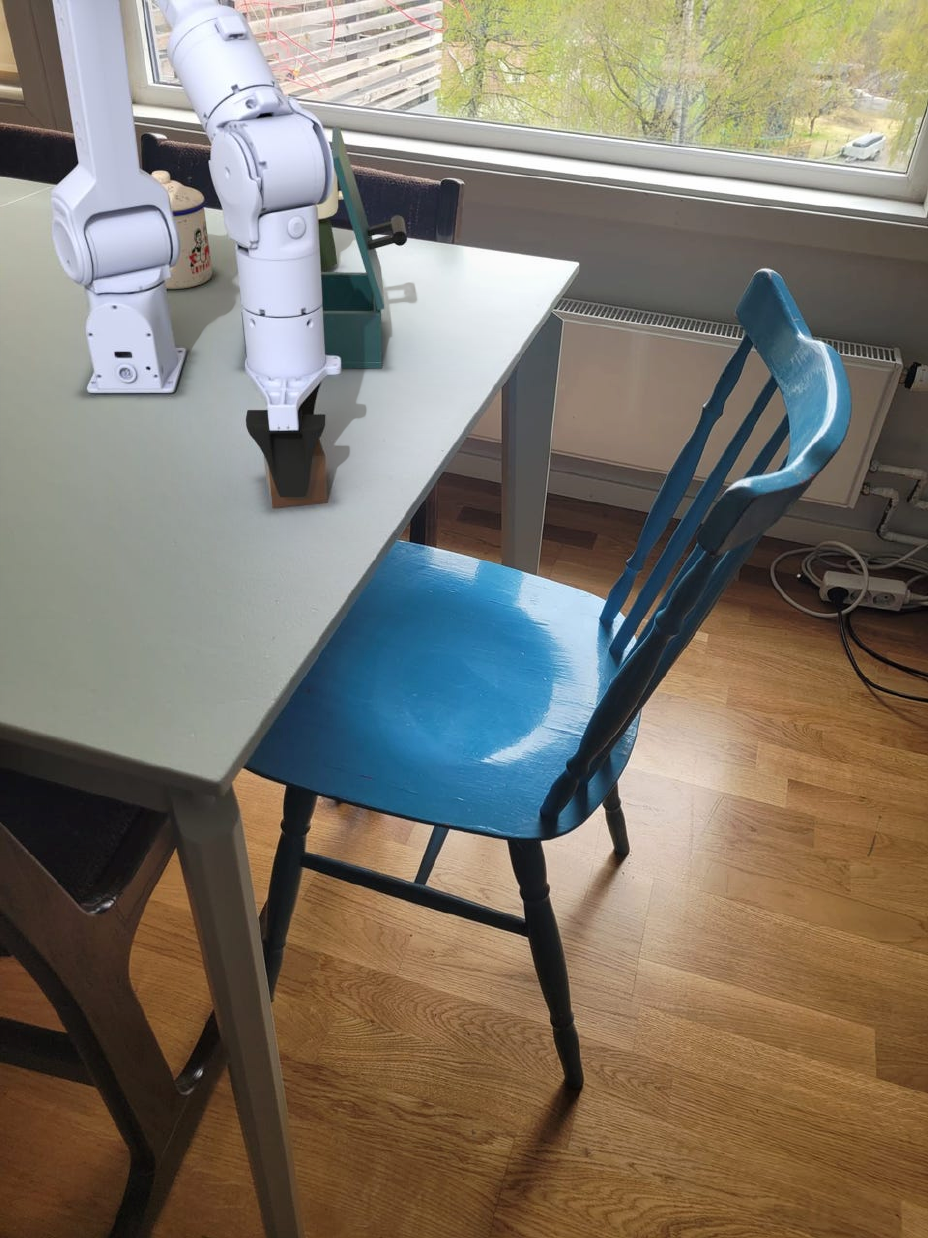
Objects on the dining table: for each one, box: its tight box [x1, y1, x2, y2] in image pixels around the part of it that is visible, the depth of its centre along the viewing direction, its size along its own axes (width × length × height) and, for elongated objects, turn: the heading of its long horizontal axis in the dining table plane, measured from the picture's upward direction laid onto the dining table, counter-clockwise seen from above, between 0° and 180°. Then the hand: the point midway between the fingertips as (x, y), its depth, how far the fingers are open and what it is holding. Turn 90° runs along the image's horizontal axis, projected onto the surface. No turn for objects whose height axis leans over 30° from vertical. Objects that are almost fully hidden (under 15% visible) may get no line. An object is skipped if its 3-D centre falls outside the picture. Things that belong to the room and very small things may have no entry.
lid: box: [331, 125, 408, 311], centre depth 93 cm, size 14×11×4 cm
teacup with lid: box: [150, 170, 213, 290], centre depth 111 cm, size 12×9×12 cm
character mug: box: [316, 169, 344, 272], centre depth 114 cm, size 11×7×13 cm, turn 109°
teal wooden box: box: [241, 271, 383, 369], centre depth 99 cm, size 13×11×6 cm
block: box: [263, 437, 328, 509], centre depth 77 cm, size 4×4×4 cm
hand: (295, 469), depth 77 cm, fingers open, 7 cm apart
